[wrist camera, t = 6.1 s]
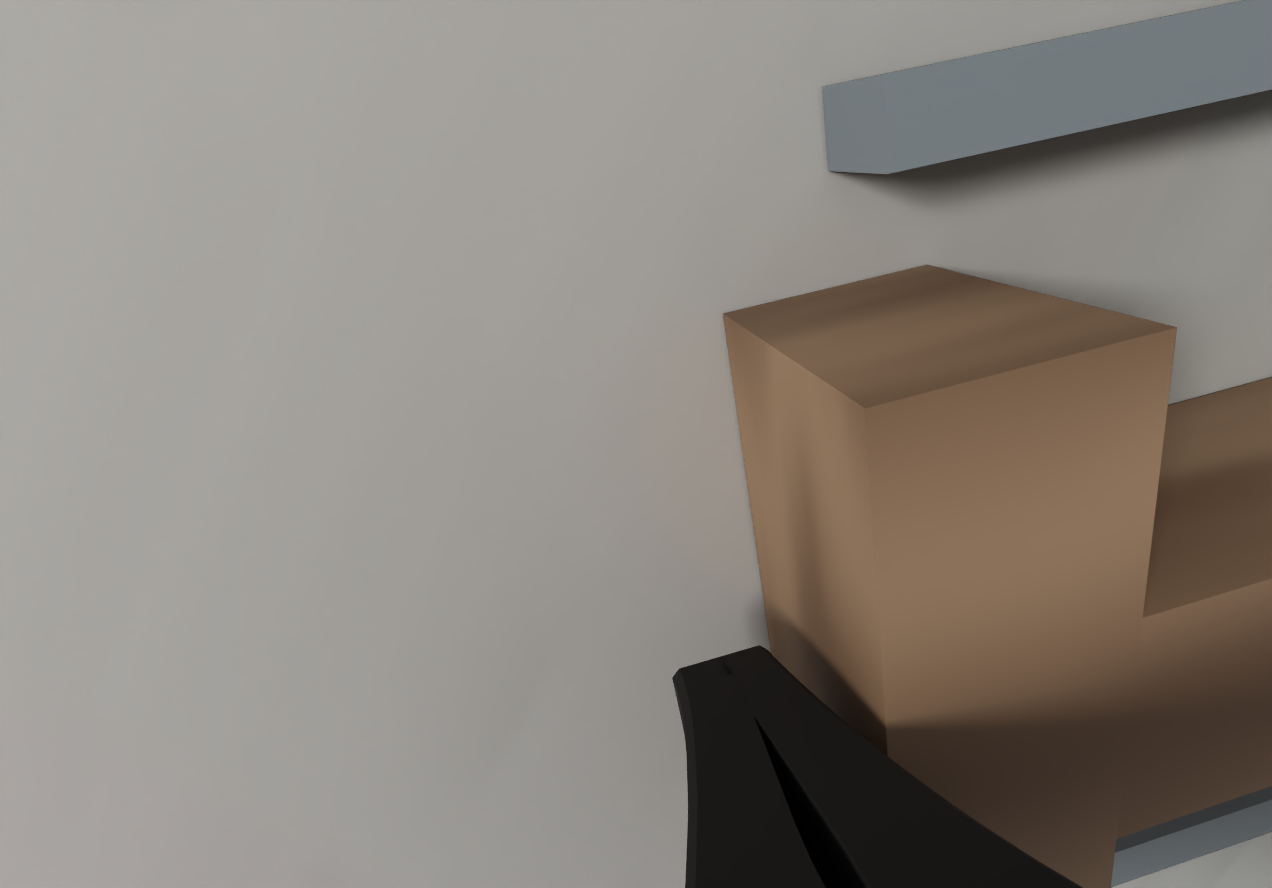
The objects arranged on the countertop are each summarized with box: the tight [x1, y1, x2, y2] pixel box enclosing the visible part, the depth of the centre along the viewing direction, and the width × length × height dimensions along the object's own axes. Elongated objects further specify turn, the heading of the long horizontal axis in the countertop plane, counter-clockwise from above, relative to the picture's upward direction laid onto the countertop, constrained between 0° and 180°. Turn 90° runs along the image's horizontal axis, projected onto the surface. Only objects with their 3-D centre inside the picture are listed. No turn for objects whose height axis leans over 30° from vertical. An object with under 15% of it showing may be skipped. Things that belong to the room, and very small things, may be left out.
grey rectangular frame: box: [822, 0, 1272, 887], centre depth 12 cm, size 15×14×2 cm
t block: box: [723, 265, 1272, 888], centre depth 11 cm, size 10×10×4 cm
